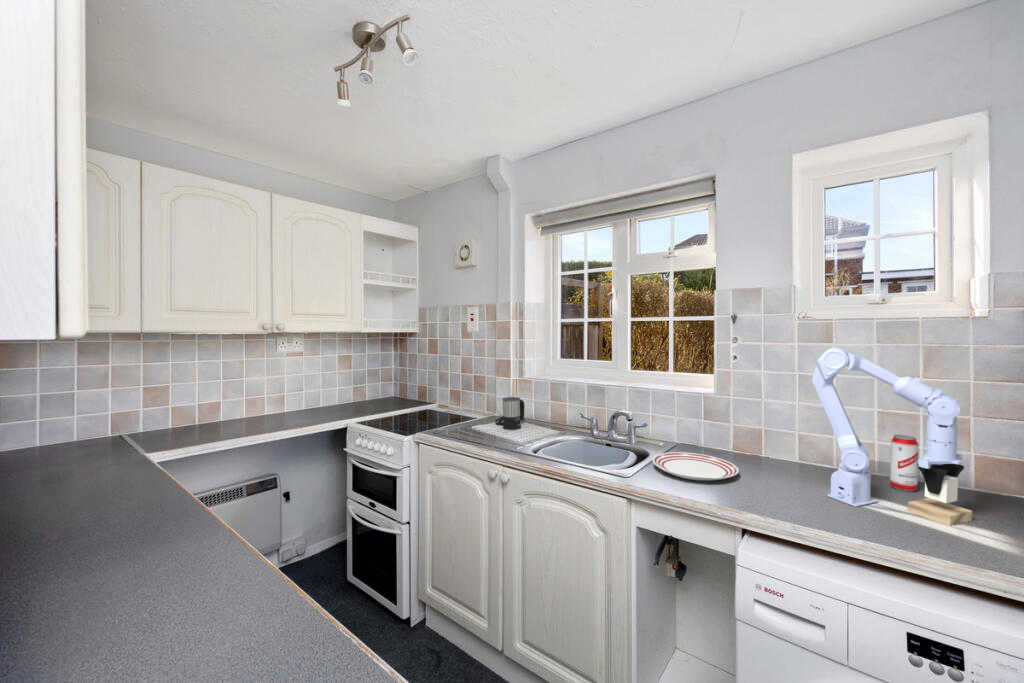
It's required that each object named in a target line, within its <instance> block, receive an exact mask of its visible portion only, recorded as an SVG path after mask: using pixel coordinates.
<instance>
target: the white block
mask: <svg viewBox="0 0 1024 683" xmlns="http://www.w3.org/2000/svg"><path fill="white" fill-rule="evenodd" d="M924 482H925V481H924ZM958 489H959V478H958V477H957V478H956V477H952V476H949V475H945V477H944V479H943V482H942V487H941V491H940V494H934V493H931V492H928V489H927V486H926V482H925V483H924V497H925V498H931V499H934V500H937V501H941V502H944V503H949V504H951V503H954V502H957V501H958V493H959V492H958Z"/></svg>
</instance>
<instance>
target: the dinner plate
mask: <svg viewBox="0 0 1024 683" xmlns="http://www.w3.org/2000/svg"><path fill="white" fill-rule="evenodd" d="M652 462H653V464H654V465H655V467H657V468H658V469H660V470H662V471H663V472H666V473H668V474H671V475H673V476H675V477H678V478H680V479H685V480H689V481H699V482H712V481H713V482H714V481H718V480H725V479H728V478H732V477H734V476H736V475H738V474H739V472H740V469H739V468H738V467H737V466H736V465H735V464H734V463H732V462H729V461H728V460H725V459H723V458H719V457H715V456H712V455H707V454H701V453H694V452H683V451H678V452H676V451H675V452H674V451H673V452H664V453H660V454H659V453H658V454H656V455H655V456H653V457H652Z"/></svg>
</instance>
